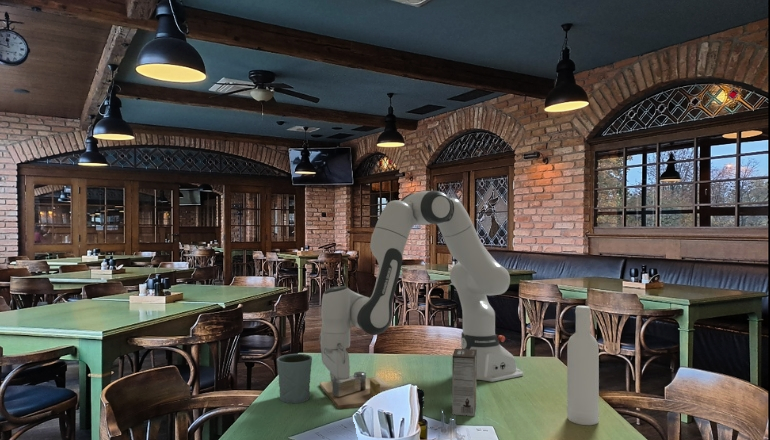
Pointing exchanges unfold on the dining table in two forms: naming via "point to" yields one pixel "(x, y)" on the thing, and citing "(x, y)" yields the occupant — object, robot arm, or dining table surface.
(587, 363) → the bottle
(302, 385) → the grey cup
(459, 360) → the coffee box
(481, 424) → the dining table surface
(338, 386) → the swing bar
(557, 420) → the dining table surface
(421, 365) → the dining table surface
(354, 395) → the plate
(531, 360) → the dining table surface
